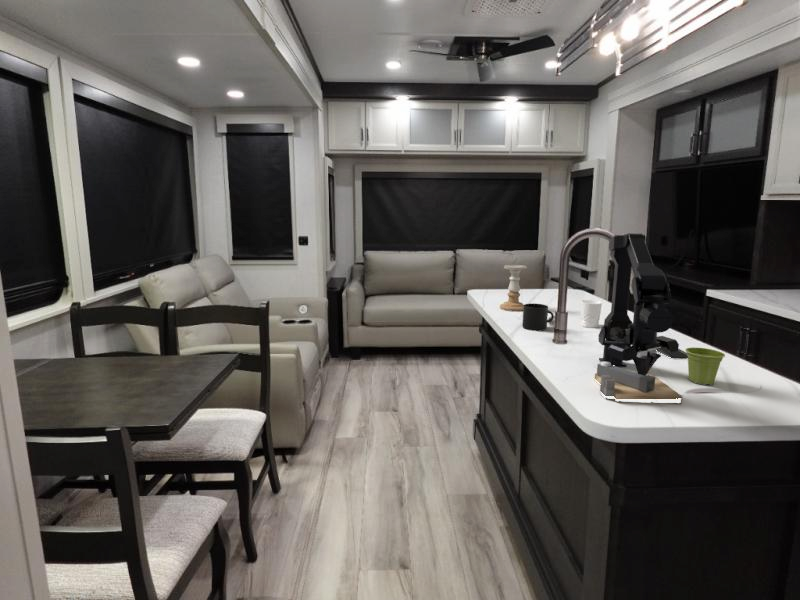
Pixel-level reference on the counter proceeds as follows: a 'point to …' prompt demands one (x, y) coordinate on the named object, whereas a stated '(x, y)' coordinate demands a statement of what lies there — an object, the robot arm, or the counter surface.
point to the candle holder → (513, 289)
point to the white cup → (590, 313)
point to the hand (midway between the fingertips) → (641, 379)
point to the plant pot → (703, 364)
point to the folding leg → (627, 377)
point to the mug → (536, 316)
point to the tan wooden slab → (634, 389)
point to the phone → (673, 353)
